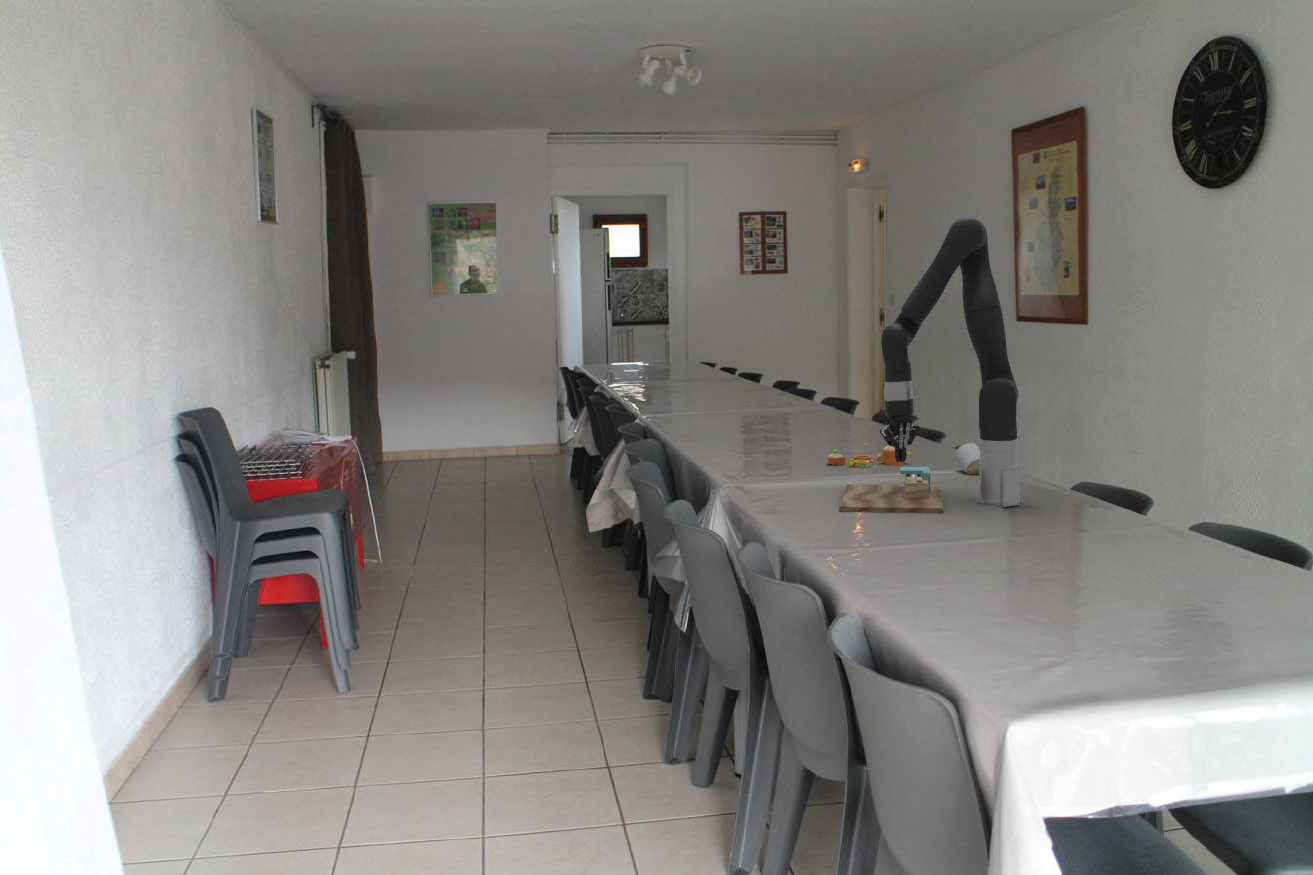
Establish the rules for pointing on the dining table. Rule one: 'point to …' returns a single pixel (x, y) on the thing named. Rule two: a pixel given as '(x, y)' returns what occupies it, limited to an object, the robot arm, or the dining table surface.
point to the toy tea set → (867, 458)
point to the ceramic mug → (969, 458)
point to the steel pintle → (913, 478)
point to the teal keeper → (917, 472)
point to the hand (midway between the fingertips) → (900, 461)
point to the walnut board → (888, 499)
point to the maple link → (916, 487)
